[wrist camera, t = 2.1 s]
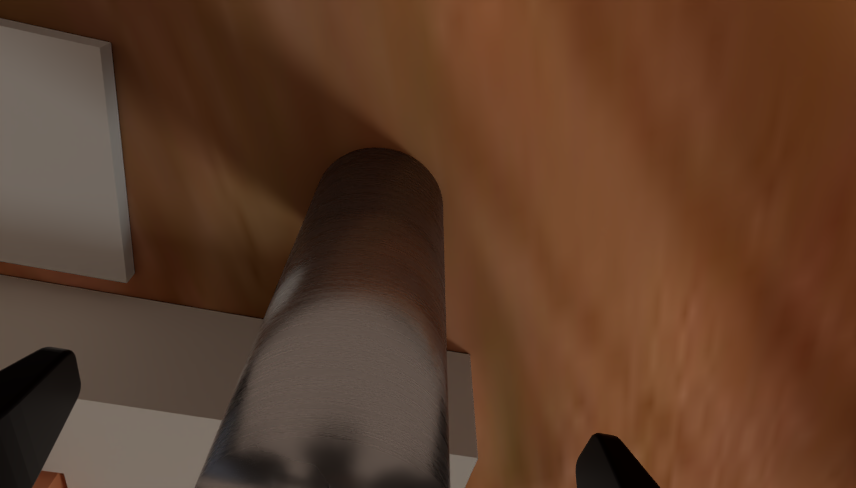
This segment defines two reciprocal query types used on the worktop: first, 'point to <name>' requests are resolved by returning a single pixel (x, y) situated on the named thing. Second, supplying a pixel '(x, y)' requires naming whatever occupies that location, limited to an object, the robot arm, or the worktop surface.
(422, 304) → the shiny gray metallic cylinder
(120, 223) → the rubber mat
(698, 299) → the worktop surface
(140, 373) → the switch panel
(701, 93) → the worktop surface
